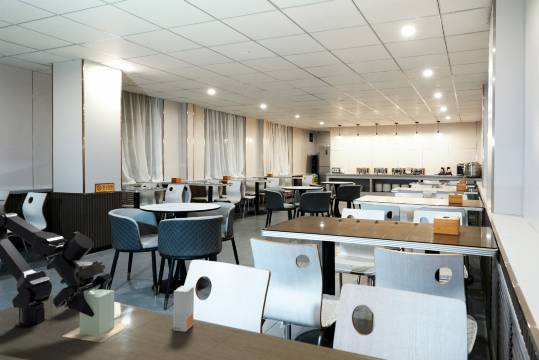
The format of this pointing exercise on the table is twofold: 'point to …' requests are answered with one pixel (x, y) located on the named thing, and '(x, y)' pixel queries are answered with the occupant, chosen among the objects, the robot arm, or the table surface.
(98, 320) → the pale green carton
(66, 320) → the table surface
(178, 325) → the skincare box
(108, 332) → the birch base
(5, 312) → the table surface
